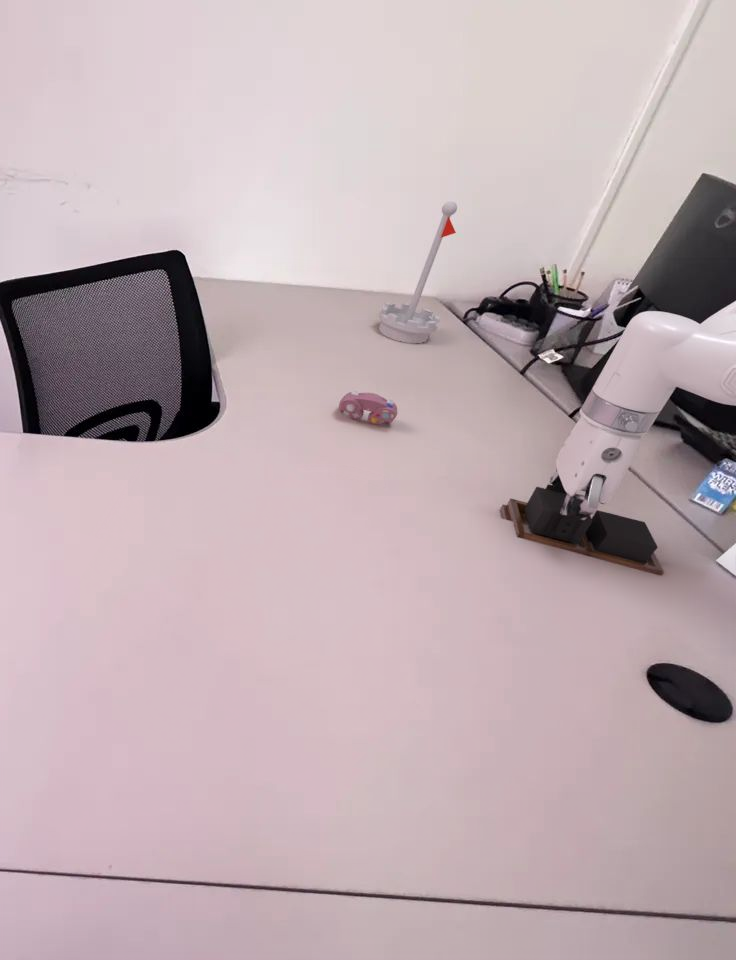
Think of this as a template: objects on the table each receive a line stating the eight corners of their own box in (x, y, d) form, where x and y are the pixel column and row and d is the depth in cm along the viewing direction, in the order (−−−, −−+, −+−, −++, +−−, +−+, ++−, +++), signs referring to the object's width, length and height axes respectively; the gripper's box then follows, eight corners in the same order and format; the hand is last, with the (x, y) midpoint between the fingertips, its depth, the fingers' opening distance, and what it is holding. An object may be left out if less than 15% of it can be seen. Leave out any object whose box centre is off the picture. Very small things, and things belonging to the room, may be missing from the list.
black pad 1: (569, 520, 97) (583, 497, 95) (578, 544, 92) (592, 521, 90) (524, 508, 98) (536, 486, 96) (530, 531, 94) (543, 508, 91)
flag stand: (365, 322, 165) (408, 192, 148) (414, 324, 166) (462, 196, 149) (390, 344, 154) (439, 206, 137) (442, 346, 156) (497, 211, 139)
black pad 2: (629, 543, 96) (645, 521, 93) (641, 569, 91) (658, 547, 89) (582, 531, 97) (596, 509, 95) (592, 556, 92) (607, 534, 90)
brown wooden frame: (636, 545, 97) (646, 531, 96) (657, 588, 89) (668, 574, 88) (499, 509, 102) (507, 496, 100) (508, 548, 94) (516, 534, 93)
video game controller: (333, 422, 123) (341, 398, 117) (338, 403, 125) (347, 379, 119) (389, 436, 121) (400, 413, 115) (393, 416, 123) (405, 393, 117)
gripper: (674, 451, 77) (595, 568, 87) (633, 391, 91) (569, 498, 101) (601, 435, 79) (532, 551, 89) (571, 378, 93) (514, 485, 103)
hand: (552, 522), depth 95 cm, fingers closed on black pad 1, 6 cm apart
